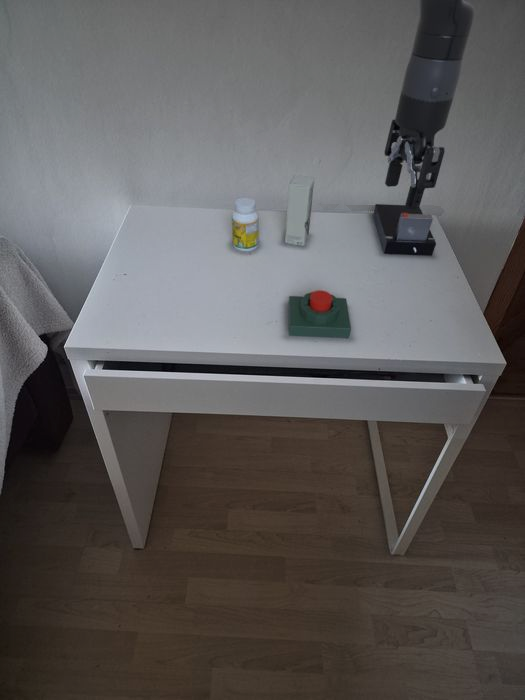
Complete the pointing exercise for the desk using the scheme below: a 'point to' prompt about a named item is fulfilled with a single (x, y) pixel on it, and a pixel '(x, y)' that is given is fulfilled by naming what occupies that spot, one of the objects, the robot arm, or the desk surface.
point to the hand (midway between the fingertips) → (400, 196)
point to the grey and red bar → (413, 227)
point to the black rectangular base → (387, 227)
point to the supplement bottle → (245, 225)
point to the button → (320, 301)
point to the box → (299, 210)
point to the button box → (318, 318)
